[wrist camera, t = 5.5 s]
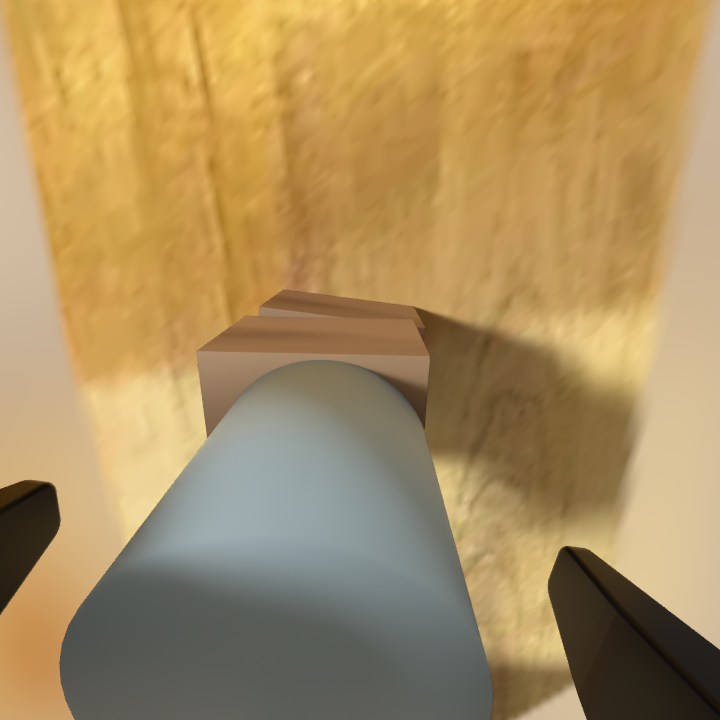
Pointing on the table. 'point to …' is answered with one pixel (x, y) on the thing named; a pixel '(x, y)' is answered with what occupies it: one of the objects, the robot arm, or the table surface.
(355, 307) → the lower block
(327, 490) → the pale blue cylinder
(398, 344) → the upper block
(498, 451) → the table surface
